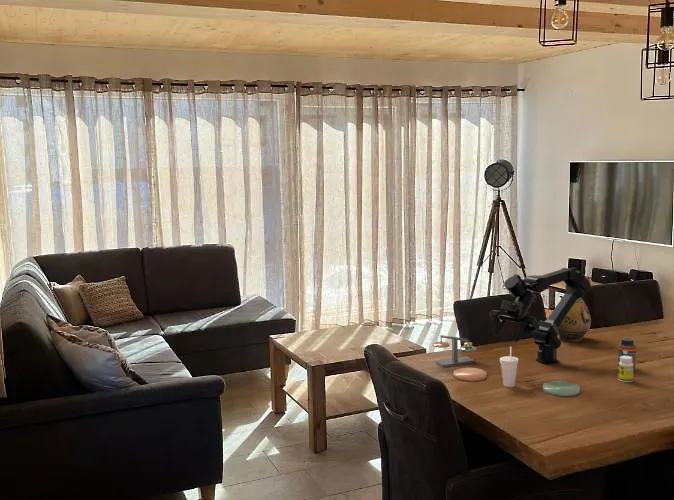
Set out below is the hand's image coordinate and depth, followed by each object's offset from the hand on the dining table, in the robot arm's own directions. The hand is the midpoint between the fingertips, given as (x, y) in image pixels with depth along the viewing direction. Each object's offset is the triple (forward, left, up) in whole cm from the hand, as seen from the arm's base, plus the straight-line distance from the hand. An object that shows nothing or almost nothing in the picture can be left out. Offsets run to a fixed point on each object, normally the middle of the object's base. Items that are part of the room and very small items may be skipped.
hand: (504, 339), depth 241 cm
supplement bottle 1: (-44, +13, -14) cm, 48 cm away
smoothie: (+5, +10, -14) cm, 18 cm away
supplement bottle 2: (-34, +23, -14) cm, 44 cm away
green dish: (-8, +22, -14) cm, 27 cm away
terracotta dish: (+12, -5, -14) cm, 18 cm away
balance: (+9, -21, -14) cm, 26 cm away
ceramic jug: (-54, -29, -14) cm, 63 cm away
